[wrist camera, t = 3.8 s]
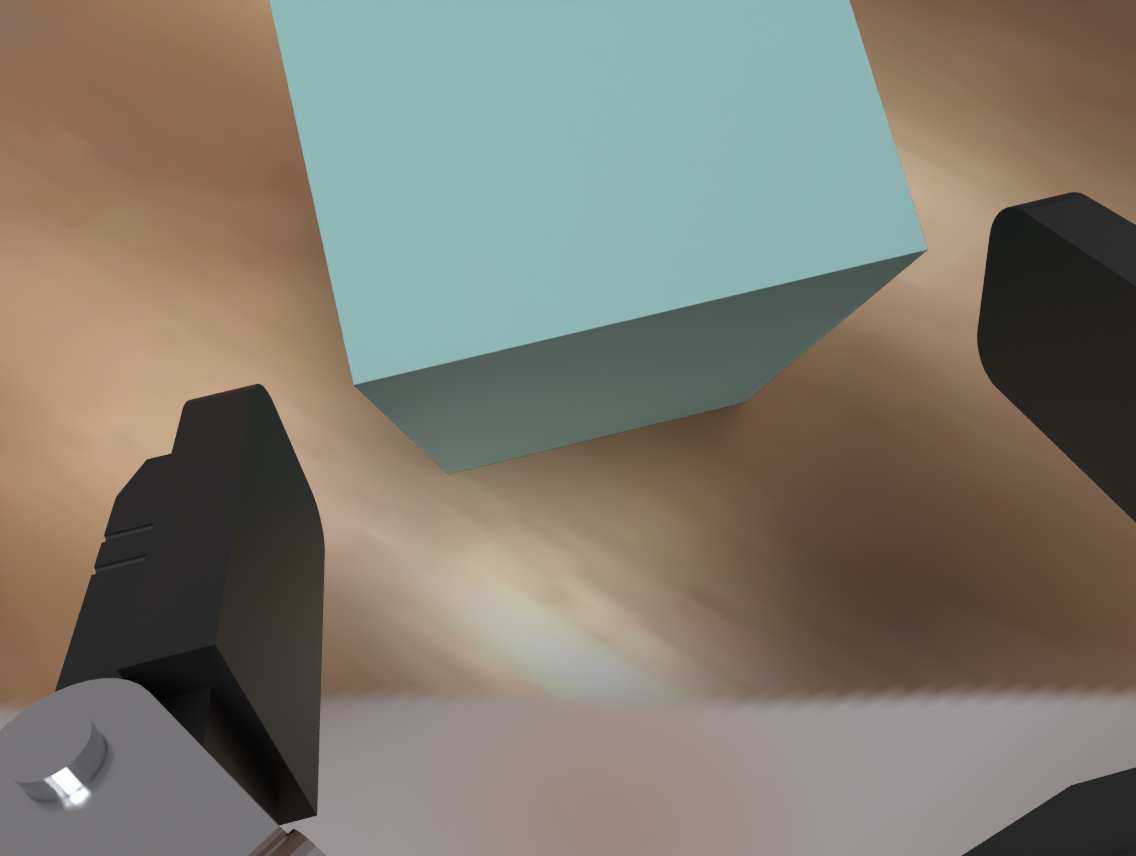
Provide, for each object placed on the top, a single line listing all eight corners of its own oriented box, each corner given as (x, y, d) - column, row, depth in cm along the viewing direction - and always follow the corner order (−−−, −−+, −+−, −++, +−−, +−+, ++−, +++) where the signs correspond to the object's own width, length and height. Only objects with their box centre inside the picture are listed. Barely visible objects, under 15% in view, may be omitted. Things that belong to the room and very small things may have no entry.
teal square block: (666, 126, 19) (770, -253, 10) (744, 402, 18) (928, 248, 10) (382, 189, 19) (237, -145, 10) (448, 474, 18) (353, 384, 9)
